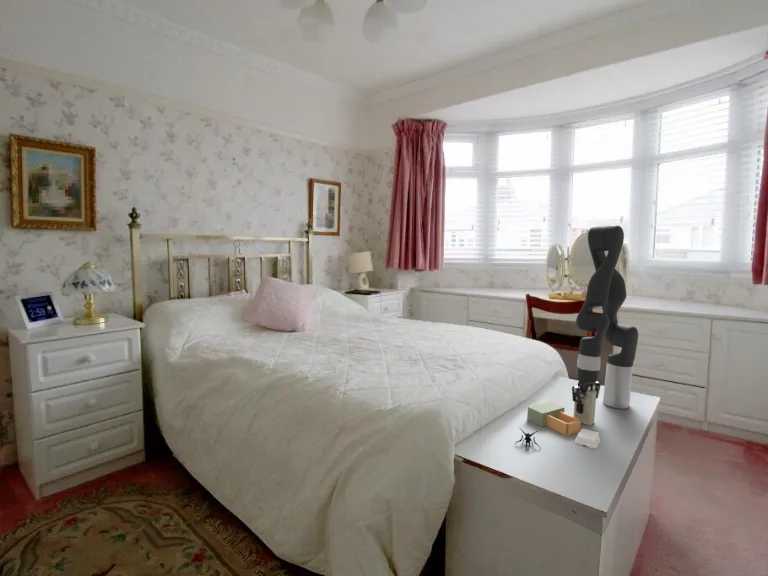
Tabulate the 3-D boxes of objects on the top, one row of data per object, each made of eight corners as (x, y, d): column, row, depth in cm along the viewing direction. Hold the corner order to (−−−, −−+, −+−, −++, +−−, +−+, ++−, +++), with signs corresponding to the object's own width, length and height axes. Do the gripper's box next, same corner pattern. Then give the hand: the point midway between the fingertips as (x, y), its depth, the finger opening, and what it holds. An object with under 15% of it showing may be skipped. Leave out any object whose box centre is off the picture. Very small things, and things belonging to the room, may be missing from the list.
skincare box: (594, 422, 155) (597, 390, 153) (590, 426, 152) (593, 393, 150) (576, 417, 159) (579, 385, 158) (572, 420, 156) (575, 388, 154)
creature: (540, 457, 131) (540, 441, 138) (542, 443, 129) (541, 427, 136) (514, 453, 133) (515, 437, 140) (515, 438, 131) (516, 423, 139)
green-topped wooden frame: (548, 413, 161) (549, 401, 161) (584, 429, 148) (585, 416, 148) (527, 420, 155) (528, 407, 154) (562, 437, 142) (563, 423, 142)
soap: (596, 450, 135) (597, 441, 135) (573, 443, 139) (574, 435, 138) (601, 439, 142) (601, 431, 142) (579, 433, 146) (580, 425, 146)
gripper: (590, 361, 160) (586, 404, 162) (566, 366, 152) (562, 411, 154) (610, 366, 153) (605, 411, 155) (585, 372, 146) (581, 419, 148)
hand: (584, 411), depth 155 cm, fingers closed on skincare box, 5 cm apart
